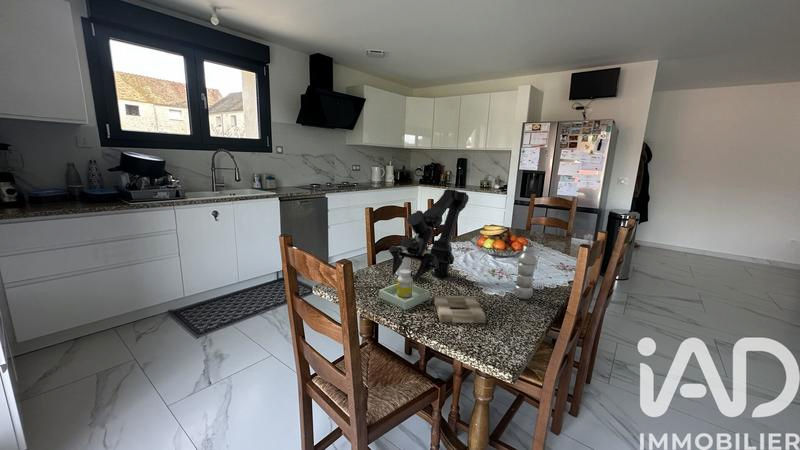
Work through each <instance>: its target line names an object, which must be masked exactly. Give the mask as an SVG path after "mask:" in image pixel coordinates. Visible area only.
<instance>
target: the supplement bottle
mask: <svg viewBox="0 0 800 450" xmlns="http://www.w3.org/2000/svg"><path fill="white" fill-rule="evenodd" d="M411 275H412V271H411V269H410V270H407V269H403V270H400V276H398V277H397V283H398V288H397V296H398V298H401V299H404V300H406V299H410V298H412V286H413V285H414V284H413V282H414V278H413V277H412V276H411Z"/></svg>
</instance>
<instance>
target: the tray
mask: <svg viewBox="0 0 800 450" xmlns="http://www.w3.org/2000/svg"><path fill="white" fill-rule="evenodd" d="M397 288H398V282H397V283H394V284H391V285H389V286H386V287H383V288H381V289H379V290H378V298H379V299H381V300H383V301H384V302H387V303H388V304H390V305H393V306H394V307H397V308H398V309H401V310H402V311H403V310H404V311H407V310H409V309H411V308H413V307H416V306H417V305H420V304H422V303H424V302H426V301H429V300H430V297H431V296H430V295H431V291H430V290H427V289H425V288H423V287H420V286H418V285H415V284H413V286H412V298H410V299H406V300H404V299H401V298H398V296H397Z"/></svg>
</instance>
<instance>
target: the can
mask: <svg viewBox="0 0 800 450" xmlns="http://www.w3.org/2000/svg"><path fill="white" fill-rule="evenodd" d="M398 247H401V248H402V250H403V251H404V252H407V250H406V249H405V247H404V246H401V245H400V246H398ZM402 261H403V262H402V264H401V265H400V267H399V269H398V270H397V272H396V273H395V275H396V276H398V277H399V276H400V270H403V269H407V270H410V271H411V266H412V265H411V263H412V259H411V258H407V257H404V259H402Z"/></svg>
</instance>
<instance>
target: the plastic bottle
mask: <svg viewBox="0 0 800 450" xmlns="http://www.w3.org/2000/svg"><path fill="white" fill-rule="evenodd" d="M522 247H523V248H522V251H523V252H522V253H520V254H519V256H518V258H517V277H516V281H515V284H514V288H513V294H514V296H515V297H516V298H518V299H521V300H529V299H531V298H532V296H533V294H534V293H533V291H534V289H533V282H534V281H533V280H534V279H533V278H534V273H535V269H536V266H537V261H538V260H537V258H536V255H535V254H534V253H535V246H534V245H531V244H524V245H523V246H522Z"/></svg>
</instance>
